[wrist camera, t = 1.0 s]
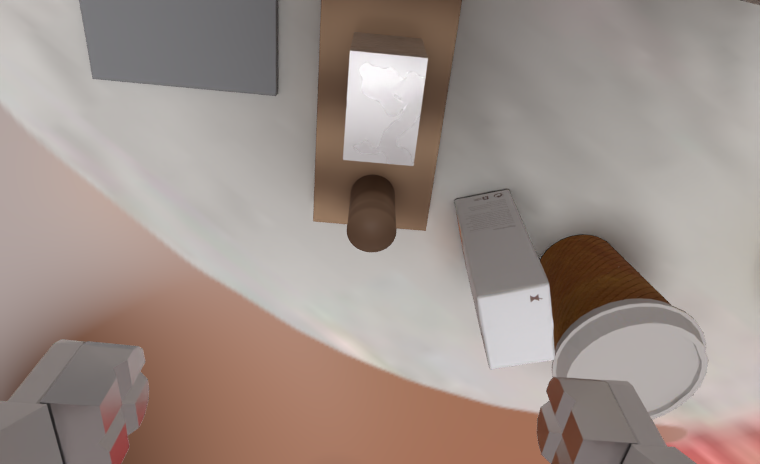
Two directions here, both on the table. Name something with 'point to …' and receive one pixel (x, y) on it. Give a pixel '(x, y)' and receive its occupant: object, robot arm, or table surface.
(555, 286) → the disposable coffee cup
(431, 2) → the walnut plane
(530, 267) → the skincare box
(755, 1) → the thermos bottle
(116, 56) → the slate pad
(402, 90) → the white rectangular box
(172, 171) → the table surface
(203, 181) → the table surface
